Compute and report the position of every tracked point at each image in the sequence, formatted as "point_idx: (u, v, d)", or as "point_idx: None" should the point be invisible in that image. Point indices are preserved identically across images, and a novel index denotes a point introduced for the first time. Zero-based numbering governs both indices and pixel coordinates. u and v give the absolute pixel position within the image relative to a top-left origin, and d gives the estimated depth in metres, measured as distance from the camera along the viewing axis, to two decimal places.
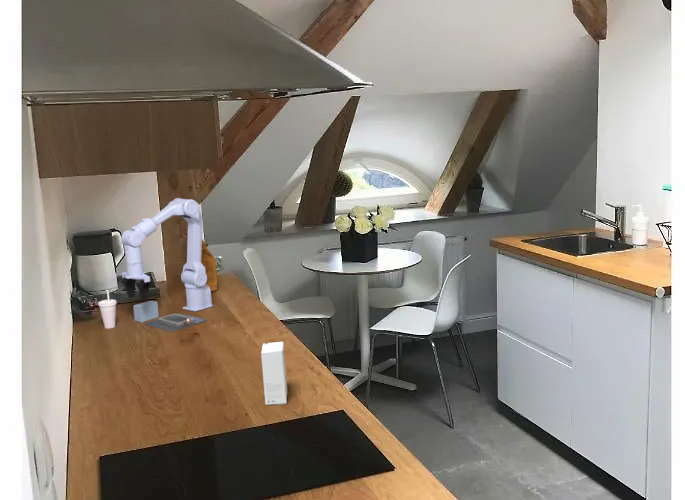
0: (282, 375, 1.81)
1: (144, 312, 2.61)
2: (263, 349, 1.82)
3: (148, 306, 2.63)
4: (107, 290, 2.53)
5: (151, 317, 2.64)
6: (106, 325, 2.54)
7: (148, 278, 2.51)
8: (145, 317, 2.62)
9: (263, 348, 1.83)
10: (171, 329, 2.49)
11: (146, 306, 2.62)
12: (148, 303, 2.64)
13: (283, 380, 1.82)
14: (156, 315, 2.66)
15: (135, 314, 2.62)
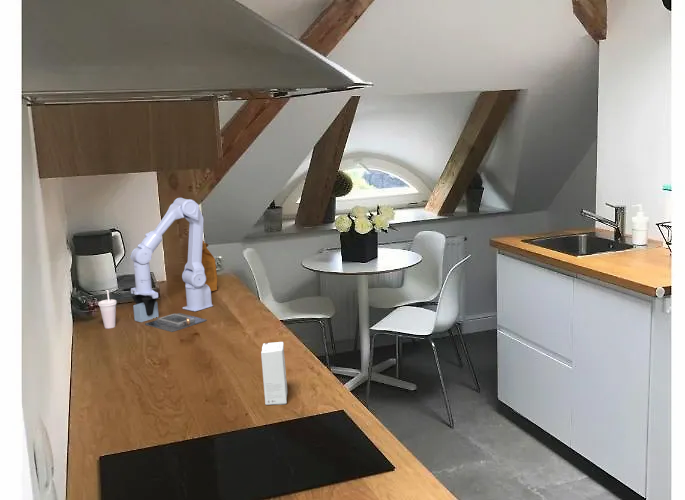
0: (282, 375, 1.81)
1: (144, 312, 2.61)
2: (263, 349, 1.82)
3: None
4: (107, 290, 2.53)
5: (151, 317, 2.64)
6: (106, 325, 2.54)
7: (156, 294, 2.59)
8: (145, 317, 2.62)
9: (263, 348, 1.83)
10: (171, 329, 2.49)
11: None
12: None
13: (283, 380, 1.82)
14: (156, 315, 2.66)
15: (135, 314, 2.62)
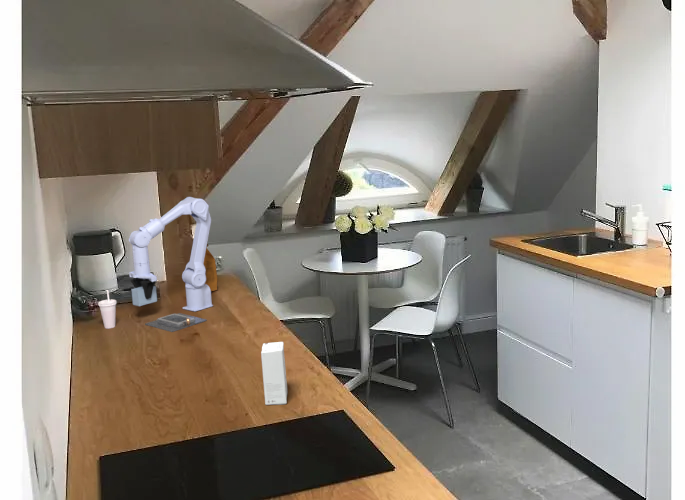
0: (282, 375, 1.81)
1: (142, 296, 2.60)
2: (263, 349, 1.82)
3: None
4: (107, 290, 2.53)
5: (149, 301, 2.63)
6: (106, 325, 2.54)
7: (155, 277, 2.57)
8: (143, 301, 2.61)
9: (263, 348, 1.83)
10: (171, 329, 2.49)
11: None
12: None
13: (283, 380, 1.82)
14: (154, 299, 2.64)
15: (133, 298, 2.61)
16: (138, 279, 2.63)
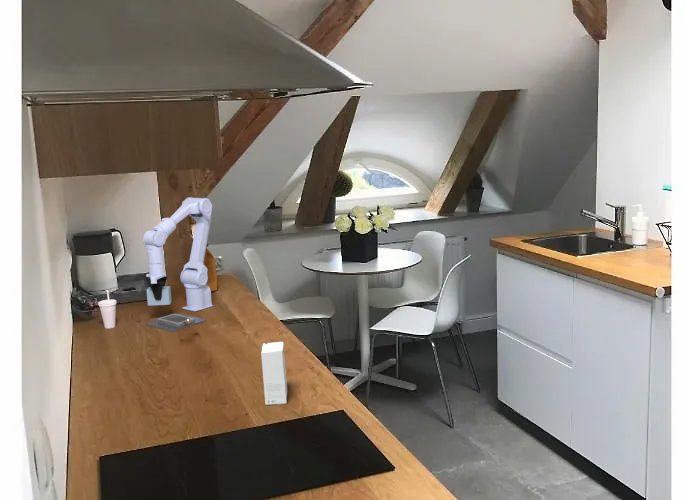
0: (282, 375, 1.81)
1: (152, 296, 2.58)
2: (263, 349, 1.82)
3: None
4: (107, 290, 2.53)
5: (160, 303, 2.58)
6: (106, 325, 2.54)
7: (154, 280, 2.51)
8: (153, 301, 2.58)
9: (263, 348, 1.83)
10: (171, 329, 2.49)
11: None
12: None
13: (283, 380, 1.82)
14: (167, 302, 2.58)
15: None
16: None
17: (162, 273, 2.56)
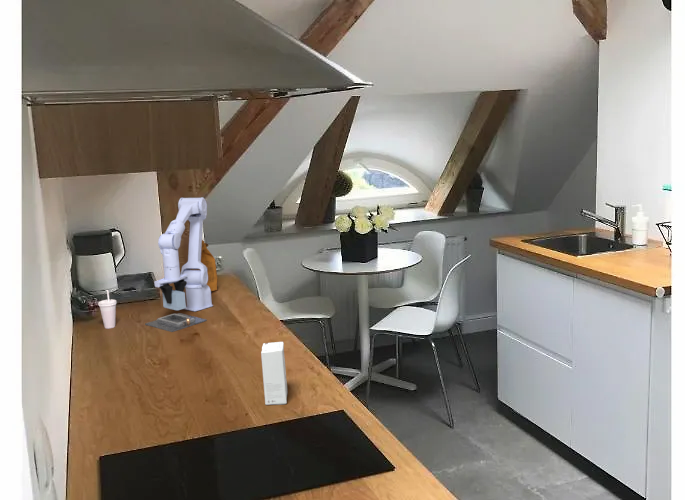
0: (282, 375, 1.81)
1: (165, 299, 2.56)
2: (263, 349, 1.82)
3: None
4: (107, 290, 2.53)
5: (171, 307, 2.55)
6: (106, 325, 2.54)
7: (156, 283, 2.49)
8: (166, 304, 2.57)
9: (263, 348, 1.83)
10: (171, 329, 2.49)
11: None
12: (173, 292, 2.55)
13: (283, 380, 1.82)
14: (175, 307, 2.54)
15: None
16: (176, 282, 2.58)
17: (172, 278, 2.52)
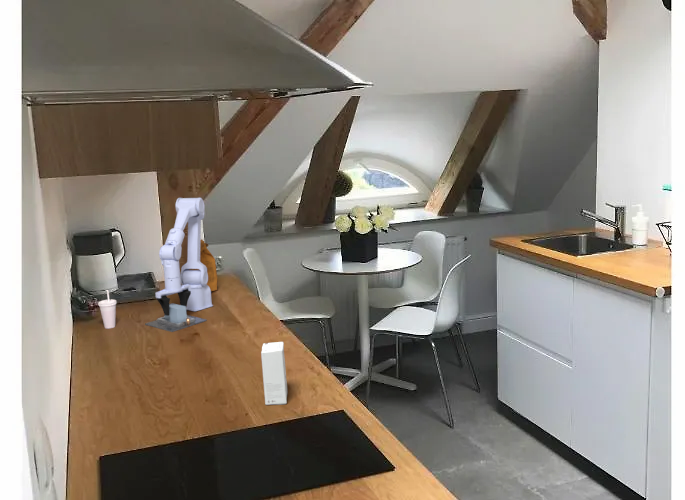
0: (282, 375, 1.81)
1: None
2: (263, 349, 1.82)
3: (170, 309, 2.56)
4: (107, 290, 2.53)
5: None
6: (106, 325, 2.54)
7: (157, 294, 2.50)
8: (167, 318, 2.58)
9: (263, 348, 1.83)
10: (171, 329, 2.49)
11: None
12: (174, 306, 2.56)
13: (283, 380, 1.82)
14: (176, 321, 2.55)
15: None
16: (181, 292, 2.60)
17: (173, 289, 2.53)
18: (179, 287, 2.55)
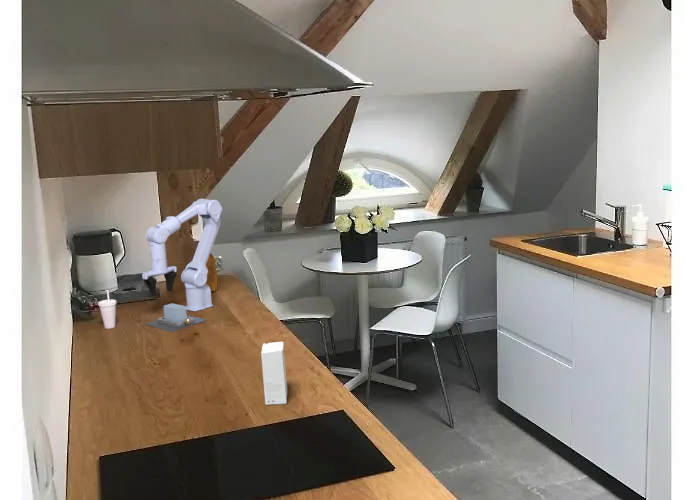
0: (282, 375, 1.81)
1: (167, 313, 2.58)
2: (263, 349, 1.82)
3: (170, 309, 2.56)
4: (107, 290, 2.53)
5: None
6: (106, 325, 2.54)
7: (144, 276, 2.57)
8: (167, 318, 2.58)
9: (263, 348, 1.83)
10: (171, 329, 2.49)
11: (168, 308, 2.56)
12: (174, 306, 2.56)
13: (283, 380, 1.82)
14: (176, 321, 2.55)
15: None
16: (167, 273, 2.66)
17: (159, 270, 2.60)
18: (165, 268, 2.62)
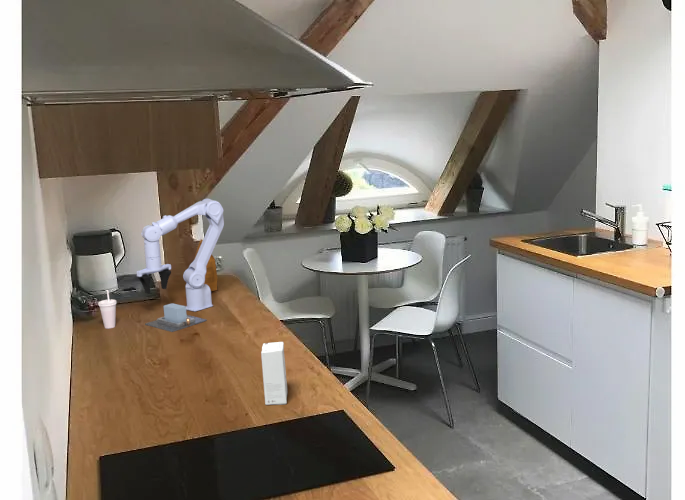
0: (282, 375, 1.81)
1: (167, 313, 2.58)
2: (263, 349, 1.82)
3: (170, 309, 2.56)
4: (107, 290, 2.53)
5: None
6: (106, 325, 2.54)
7: (138, 273, 2.61)
8: (167, 318, 2.58)
9: (263, 348, 1.83)
10: (171, 329, 2.49)
11: (168, 308, 2.56)
12: (174, 306, 2.56)
13: (283, 380, 1.82)
14: (176, 321, 2.55)
15: None
16: (161, 271, 2.70)
17: (153, 268, 2.64)
18: (159, 266, 2.65)
